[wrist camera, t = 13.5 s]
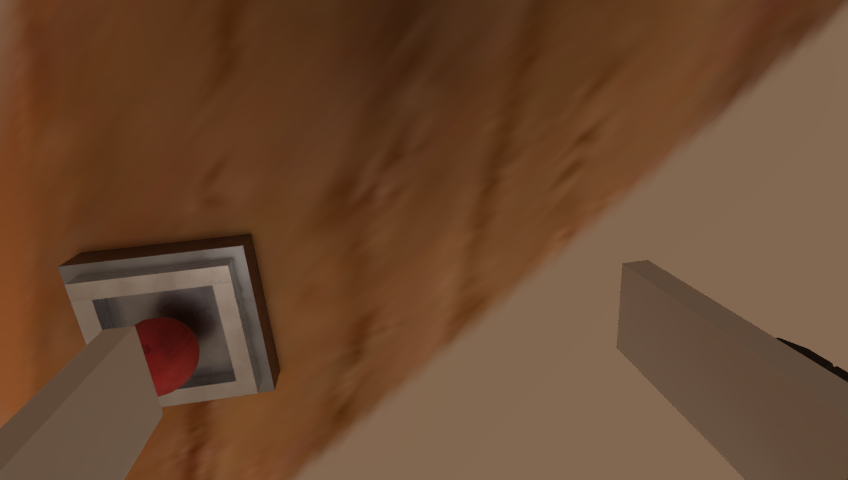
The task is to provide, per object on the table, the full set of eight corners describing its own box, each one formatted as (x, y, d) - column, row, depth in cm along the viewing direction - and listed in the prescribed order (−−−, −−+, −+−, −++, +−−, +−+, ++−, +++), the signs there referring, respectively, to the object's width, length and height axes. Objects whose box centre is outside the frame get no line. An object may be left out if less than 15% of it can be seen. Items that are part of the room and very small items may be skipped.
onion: (126, 343, 39) (69, 406, 31) (155, 288, 38) (104, 340, 30) (193, 371, 40) (155, 437, 33) (223, 320, 39) (191, 376, 32)
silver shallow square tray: (79, 253, 39) (45, 274, 35) (251, 234, 40) (238, 252, 36) (127, 392, 43) (102, 425, 39) (280, 370, 45) (271, 400, 41)
